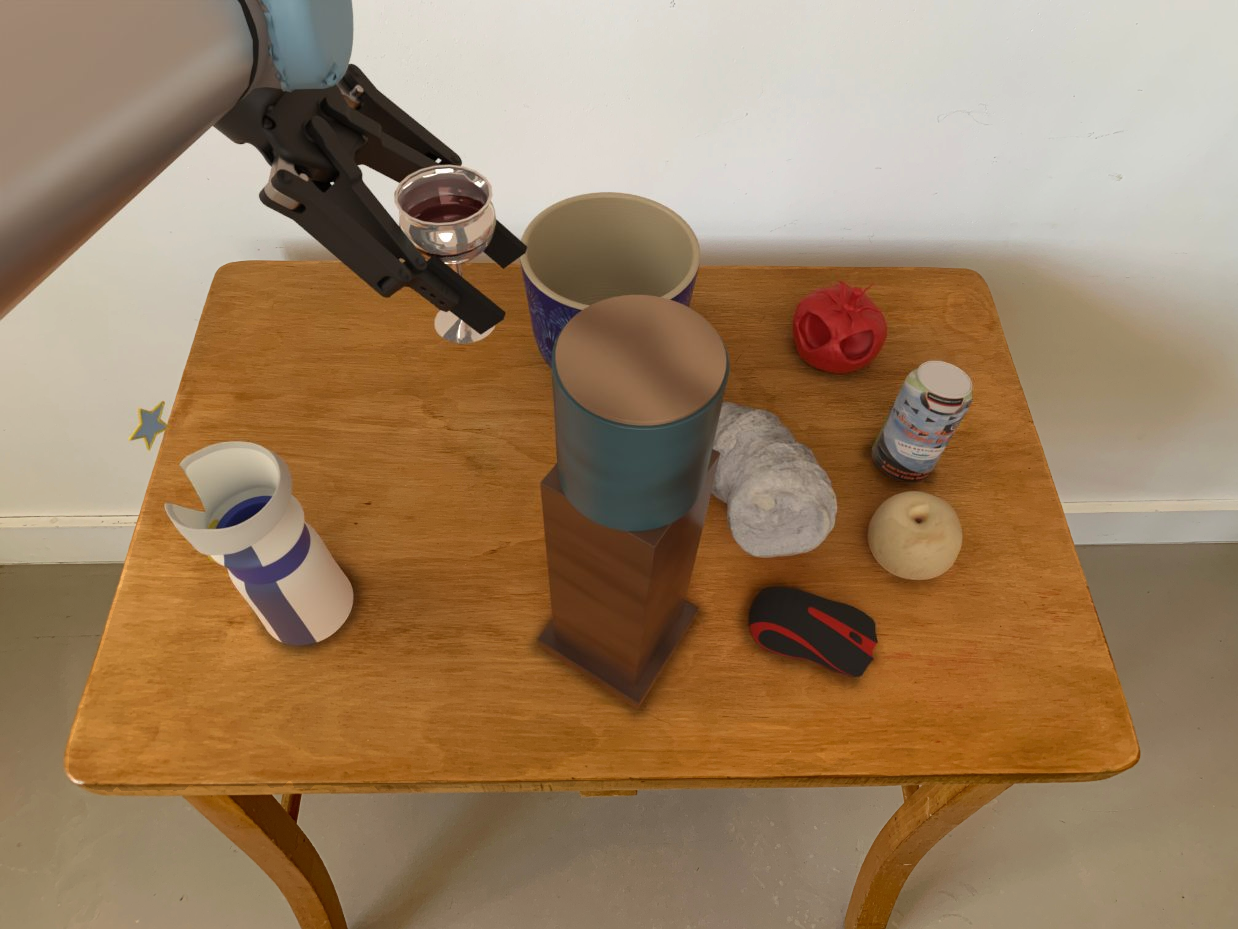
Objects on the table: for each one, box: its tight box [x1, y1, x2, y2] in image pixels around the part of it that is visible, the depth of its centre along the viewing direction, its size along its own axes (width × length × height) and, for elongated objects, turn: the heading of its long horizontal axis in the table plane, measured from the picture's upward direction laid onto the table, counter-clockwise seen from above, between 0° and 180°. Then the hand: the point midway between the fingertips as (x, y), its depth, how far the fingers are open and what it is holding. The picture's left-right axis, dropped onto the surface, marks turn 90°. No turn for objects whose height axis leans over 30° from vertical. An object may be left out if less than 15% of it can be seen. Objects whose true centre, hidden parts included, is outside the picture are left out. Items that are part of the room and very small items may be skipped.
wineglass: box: [393, 165, 497, 345], centre depth 59 cm, size 7×7×12 cm
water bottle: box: [127, 400, 354, 647], centre depth 58 cm, size 8×9×25 cm
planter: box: [519, 191, 701, 370], centre depth 80 cm, size 17×17×15 cm
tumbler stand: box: [536, 295, 730, 711], centre depth 54 cm, size 10×10×35 cm
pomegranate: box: [791, 276, 888, 374], centre depth 84 cm, size 10×10×9 cm
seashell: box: [711, 401, 838, 559], centre depth 73 cm, size 16×15×10 cm
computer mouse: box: [747, 585, 879, 678], centre depth 67 cm, size 6×11×4 cm, turn 67°
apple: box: [866, 490, 963, 581], centre depth 71 cm, size 8×8×8 cm
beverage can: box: [871, 360, 973, 483], centre depth 75 cm, size 6×7×12 cm
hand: (504, 289), depth 60 cm, fingers closed on wineglass, 7 cm apart
